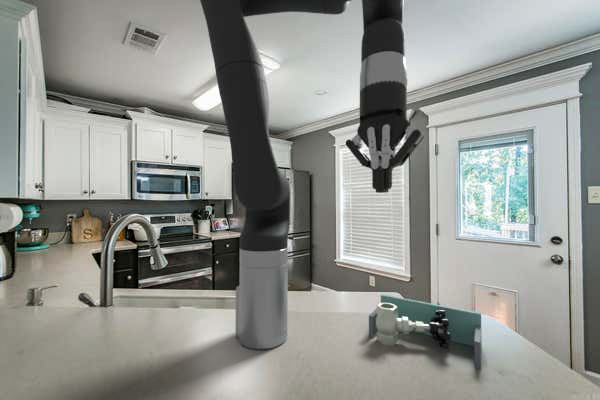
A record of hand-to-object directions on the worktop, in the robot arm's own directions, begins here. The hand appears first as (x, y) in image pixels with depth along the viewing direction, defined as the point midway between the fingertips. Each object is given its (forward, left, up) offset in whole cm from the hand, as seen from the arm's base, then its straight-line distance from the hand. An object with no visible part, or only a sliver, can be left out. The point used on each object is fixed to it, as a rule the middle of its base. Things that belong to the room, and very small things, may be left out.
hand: (382, 192), depth 45 cm
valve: (+2, +8, -28) cm, 29 cm away
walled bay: (+4, +10, -28) cm, 30 cm away
